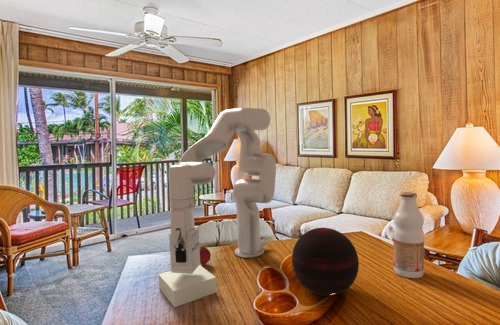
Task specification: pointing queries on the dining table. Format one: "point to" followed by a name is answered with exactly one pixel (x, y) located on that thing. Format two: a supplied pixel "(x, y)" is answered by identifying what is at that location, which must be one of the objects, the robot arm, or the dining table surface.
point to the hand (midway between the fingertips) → (185, 256)
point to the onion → (204, 255)
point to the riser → (187, 285)
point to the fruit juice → (408, 238)
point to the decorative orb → (325, 261)
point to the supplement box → (187, 253)
